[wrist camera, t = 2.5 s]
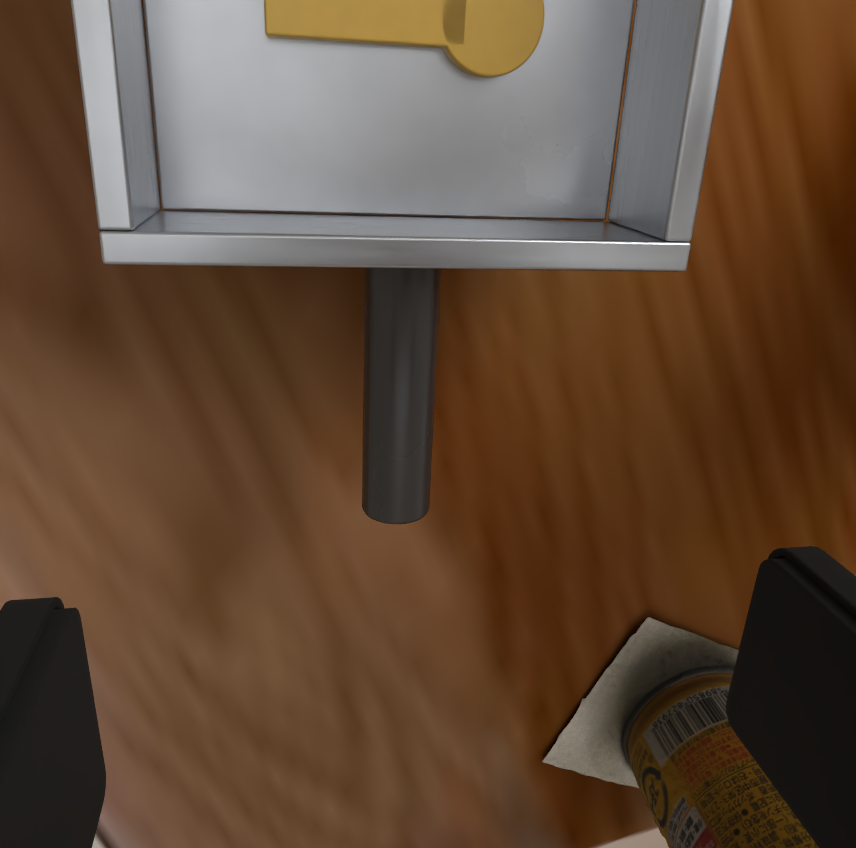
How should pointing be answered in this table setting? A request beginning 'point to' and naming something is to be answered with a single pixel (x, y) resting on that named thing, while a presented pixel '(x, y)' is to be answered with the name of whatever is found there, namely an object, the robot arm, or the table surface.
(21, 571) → the table surface
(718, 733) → the condiment
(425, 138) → the scoop
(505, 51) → the key
